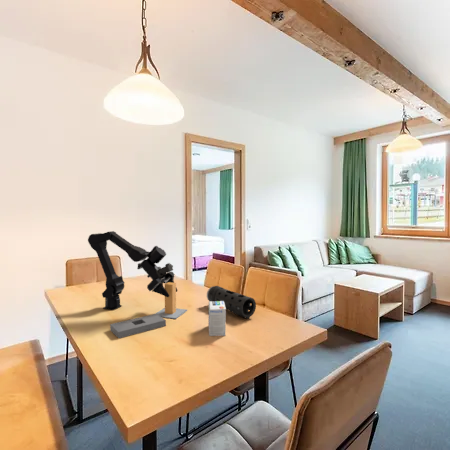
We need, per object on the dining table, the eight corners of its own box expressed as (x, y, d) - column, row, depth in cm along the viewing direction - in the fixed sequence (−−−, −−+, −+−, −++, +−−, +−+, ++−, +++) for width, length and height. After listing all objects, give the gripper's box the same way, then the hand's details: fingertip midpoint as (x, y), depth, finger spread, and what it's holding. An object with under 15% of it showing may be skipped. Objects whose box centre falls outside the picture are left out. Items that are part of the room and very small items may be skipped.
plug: (164, 313, 137) (164, 284, 136) (168, 310, 140) (168, 282, 140) (172, 314, 136) (172, 284, 135) (176, 311, 139) (175, 282, 139)
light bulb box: (208, 325, 123) (208, 300, 123) (224, 325, 124) (224, 300, 123) (209, 336, 112) (209, 309, 112) (226, 335, 113) (226, 308, 112)
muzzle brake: (241, 322, 128) (241, 299, 127) (205, 306, 149) (205, 286, 149) (256, 317, 133) (256, 295, 133) (219, 302, 155) (219, 283, 155)
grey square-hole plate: (110, 330, 118) (110, 324, 118) (155, 319, 130) (155, 313, 130) (118, 338, 110) (118, 332, 110) (165, 325, 123) (165, 320, 123)
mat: (152, 316, 134) (152, 315, 134) (165, 308, 146) (165, 307, 146) (175, 319, 130) (175, 318, 130) (187, 310, 142) (187, 309, 142)
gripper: (153, 261, 129) (176, 287, 127) (170, 255, 147) (191, 278, 145) (137, 278, 131) (159, 303, 129) (156, 270, 149) (176, 292, 147)
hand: (173, 293), depth 137 cm, fingers open, 9 cm apart
